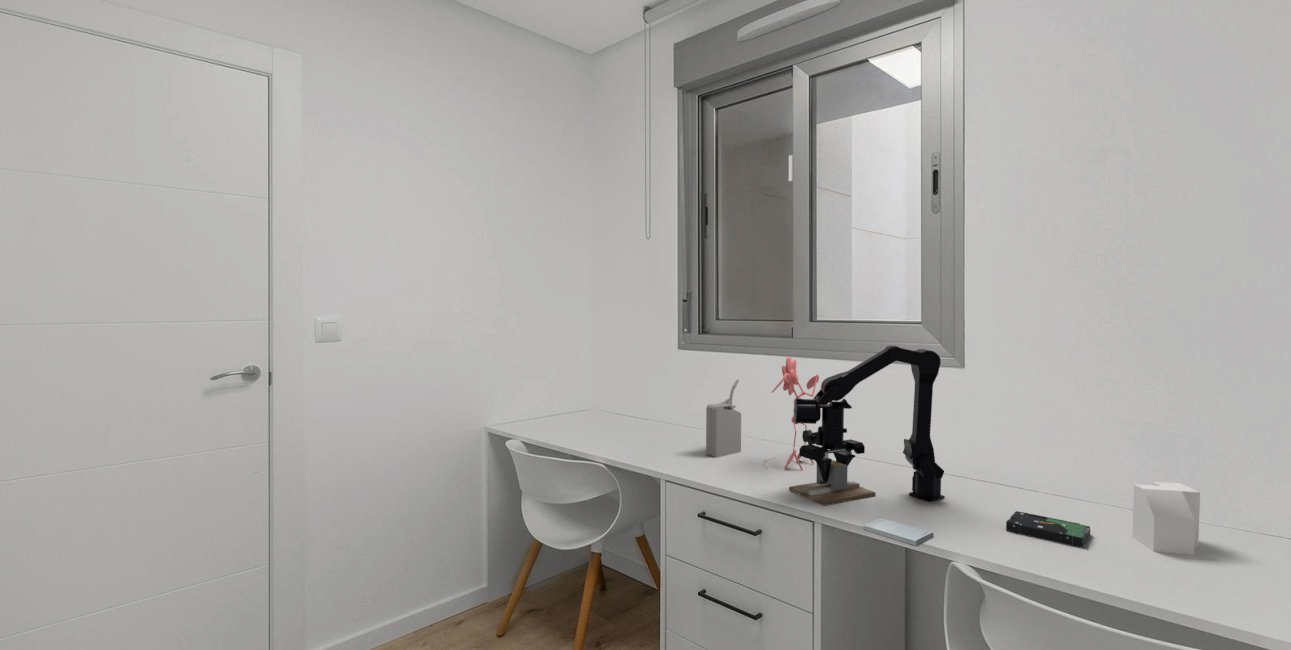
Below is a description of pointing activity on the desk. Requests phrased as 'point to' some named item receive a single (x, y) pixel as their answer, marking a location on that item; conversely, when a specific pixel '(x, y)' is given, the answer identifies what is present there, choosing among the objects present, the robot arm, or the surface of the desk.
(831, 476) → the block
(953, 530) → the desk surface
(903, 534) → the hard drive
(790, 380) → the pink flower figurine
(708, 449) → the fuel canister
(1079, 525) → the disk drive
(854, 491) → the mounting board
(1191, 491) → the corner bracket
